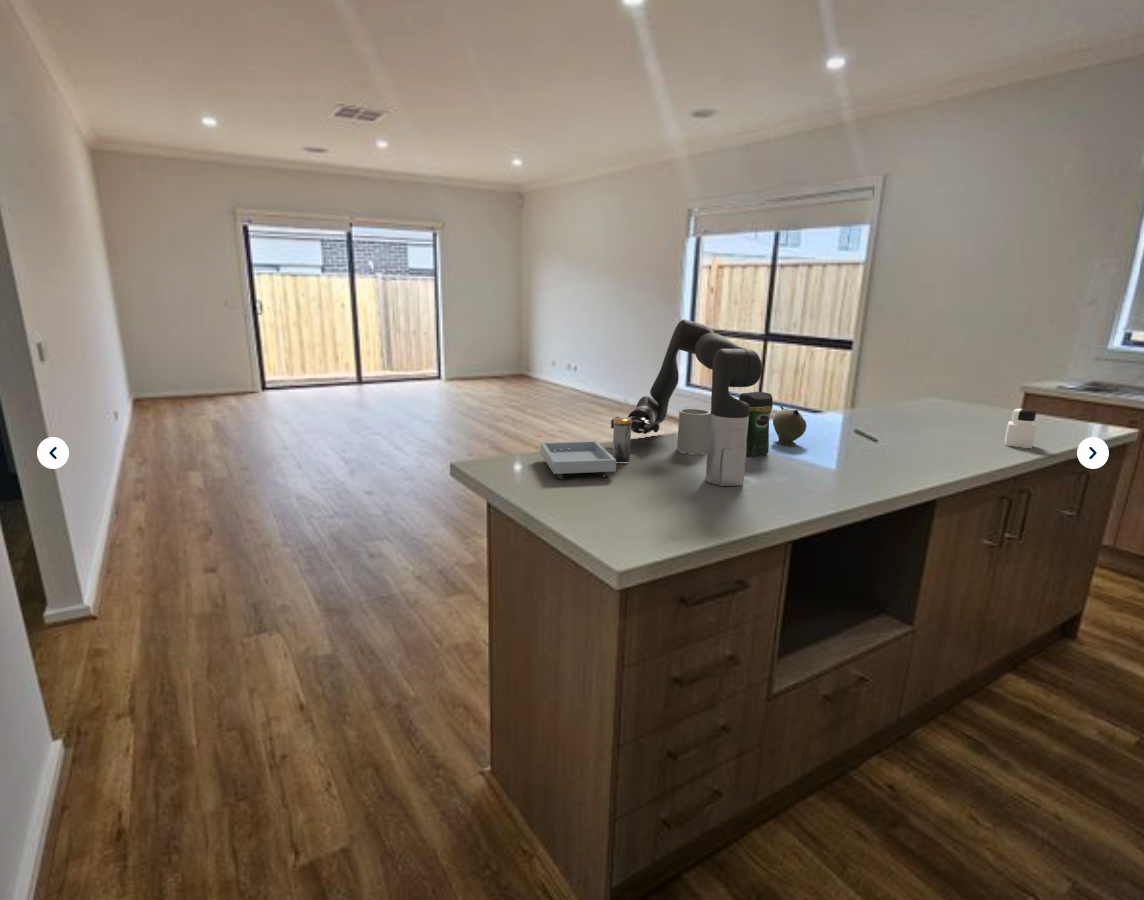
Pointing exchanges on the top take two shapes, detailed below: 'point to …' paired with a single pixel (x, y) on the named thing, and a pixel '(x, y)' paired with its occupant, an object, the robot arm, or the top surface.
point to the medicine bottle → (1021, 429)
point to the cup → (693, 431)
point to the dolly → (577, 457)
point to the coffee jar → (758, 422)
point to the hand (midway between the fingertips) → (630, 429)
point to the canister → (622, 439)
